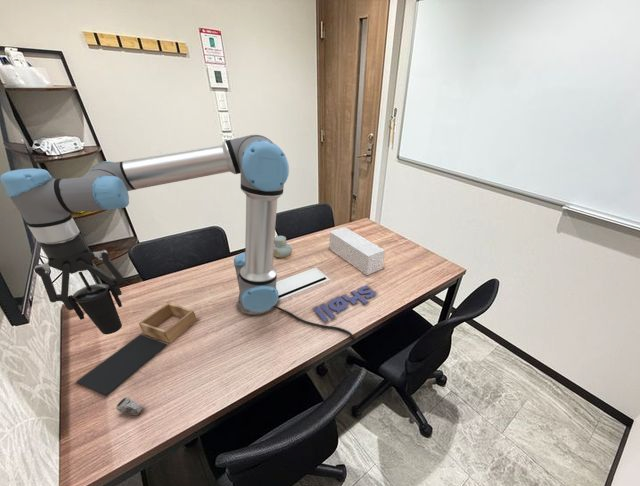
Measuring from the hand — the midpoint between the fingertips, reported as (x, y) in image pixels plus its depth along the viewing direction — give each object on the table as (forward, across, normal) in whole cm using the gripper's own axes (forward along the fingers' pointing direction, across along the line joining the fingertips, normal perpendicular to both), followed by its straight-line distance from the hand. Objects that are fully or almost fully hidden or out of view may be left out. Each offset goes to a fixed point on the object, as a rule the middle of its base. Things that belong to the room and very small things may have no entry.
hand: (101, 310), depth 79 cm
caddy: (+21, -14, -8) cm, 26 cm away
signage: (+20, -73, +21) cm, 79 cm away
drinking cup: (+7, 0, 0) cm, 7 cm away
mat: (+21, +1, +1) cm, 21 cm away
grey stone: (+21, +2, +21) cm, 30 cm away
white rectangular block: (+20, -100, -5) cm, 102 cm away
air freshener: (+21, -71, -31) cm, 80 cm away
